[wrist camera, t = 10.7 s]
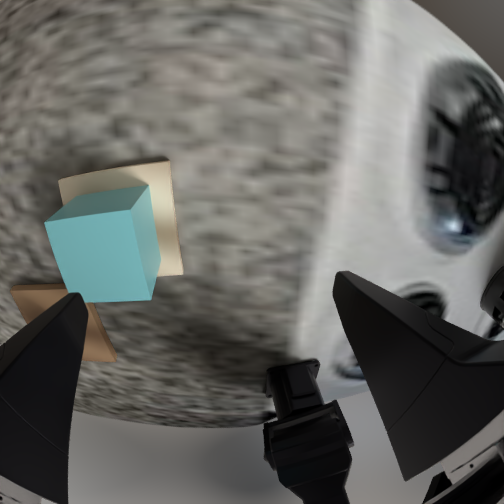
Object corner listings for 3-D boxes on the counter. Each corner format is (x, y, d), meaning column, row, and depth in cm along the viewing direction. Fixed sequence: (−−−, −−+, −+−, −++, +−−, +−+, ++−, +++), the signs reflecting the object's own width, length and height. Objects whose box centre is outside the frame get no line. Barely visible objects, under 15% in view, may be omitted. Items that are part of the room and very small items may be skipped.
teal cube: (161, 259, 21) (151, 299, 16) (94, 265, 20) (72, 302, 15) (149, 185, 18) (130, 209, 13) (76, 195, 17) (44, 222, 13)
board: (183, 270, 22) (182, 274, 21) (87, 277, 21) (85, 280, 20) (169, 160, 18) (168, 161, 17) (61, 178, 16) (57, 180, 16)
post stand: (117, 355, 26) (107, 399, 21) (50, 351, 25) (35, 388, 20) (85, 282, 21) (61, 327, 16) (14, 285, 20) (-13, 322, 15)
